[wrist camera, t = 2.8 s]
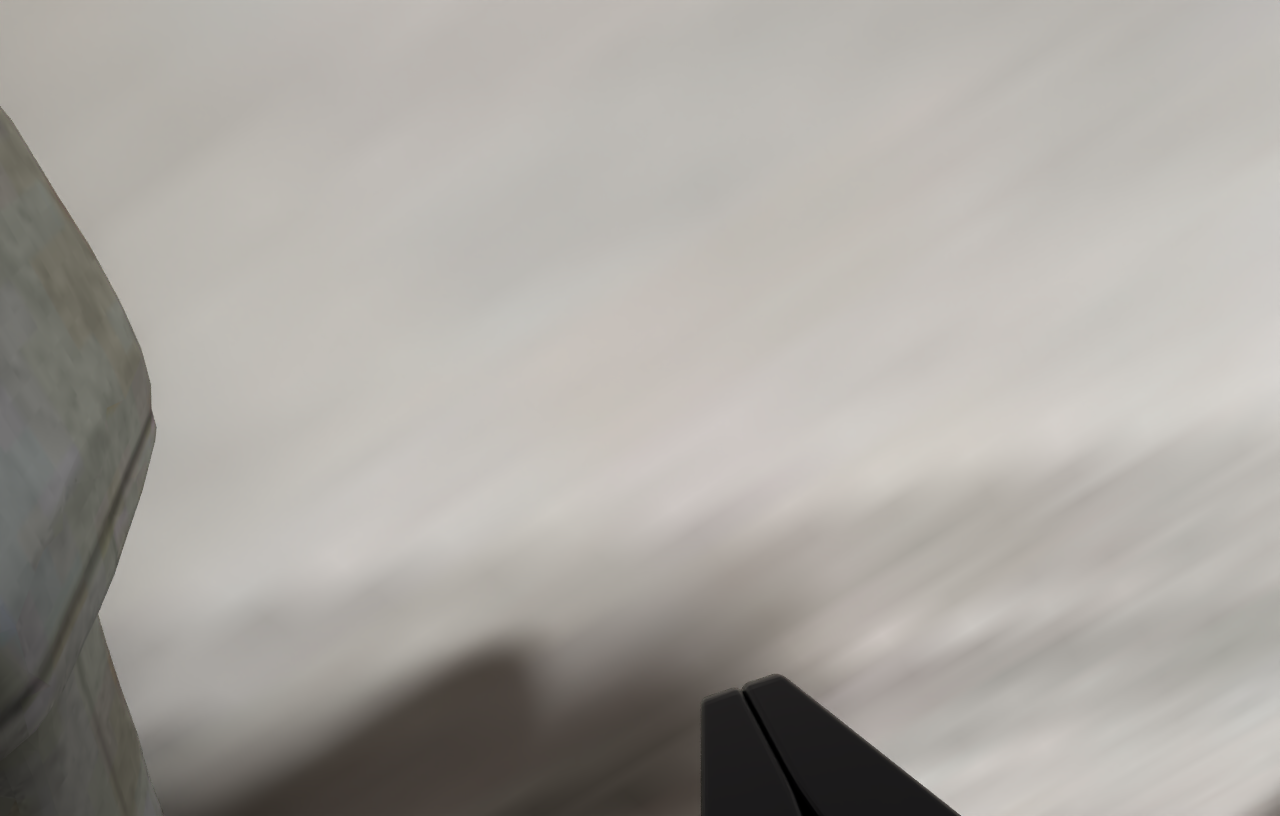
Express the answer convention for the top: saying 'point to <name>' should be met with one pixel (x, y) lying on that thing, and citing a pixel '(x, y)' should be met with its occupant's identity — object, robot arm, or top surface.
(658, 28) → the top surface
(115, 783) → the handheld device
